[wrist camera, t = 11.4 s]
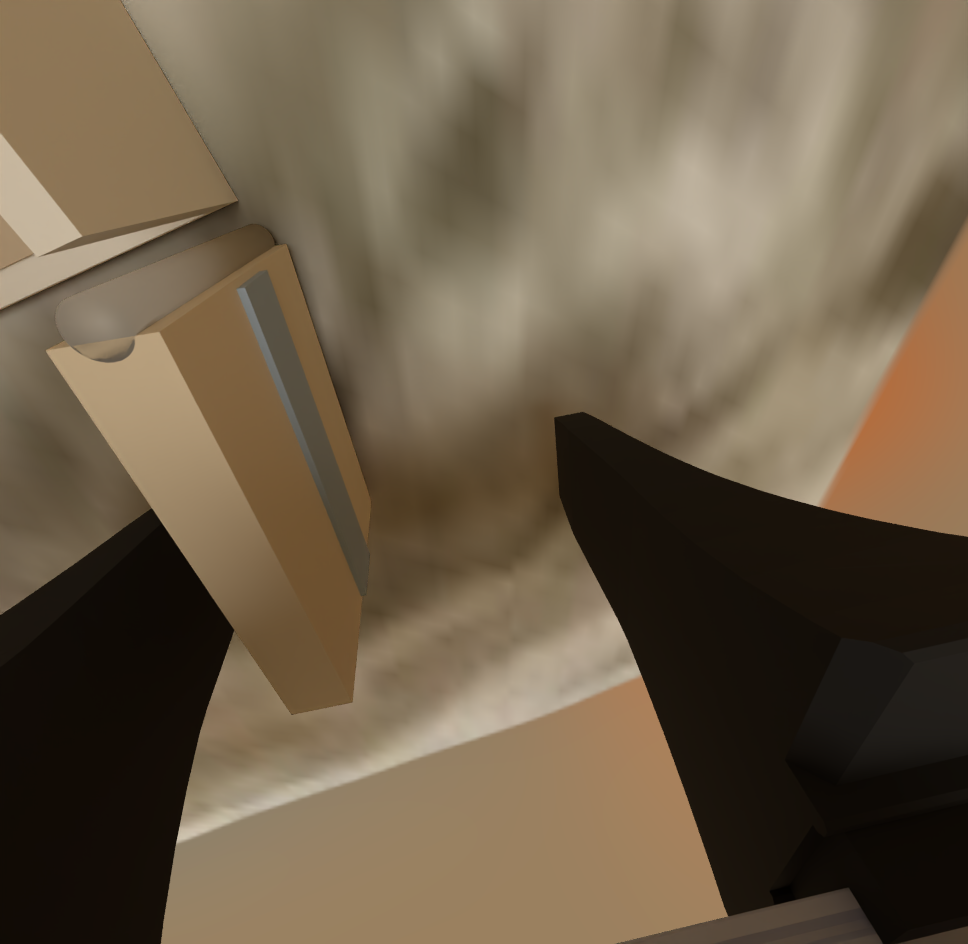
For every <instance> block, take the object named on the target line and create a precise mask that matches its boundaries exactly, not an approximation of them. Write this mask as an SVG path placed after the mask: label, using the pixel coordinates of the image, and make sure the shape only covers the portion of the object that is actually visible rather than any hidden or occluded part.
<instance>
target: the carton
mask: <svg viewBox="0 0 968 944" xmlns="http://www.w3.org/2000/svg"><path fill="white" fill-rule="evenodd" d="M236 201H238V199H237V198H236V196H235V194H234V193H233V191H232V189H231V187H230V186H229V184H228V182H227V181H226V179H225V177H224V176H223V174H222V172H221V171H220V169H219V167H218V165H217V164H216V162H215V160H214V159H213V157H212V155H211V154H210V152H209V150H208V148H207V147H206V145H205V143H204V142H203V140H202V138H201V137H200V135H199V133H198V132H197V130H196V128H195V126H194V125H193V123H192V121H191V120H190V118H189V116H188V115H187V113H186V111H185V109H184V108H183V106H182V104H181V103H180V101H179V99H178V98H177V96H176V94H175V93H174V91H173V89H172V87H171V86H170V84H169V82H168V81H167V79H166V77H165V76H164V74H163V72H162V70H161V69H160V67H159V65H158V64H157V62H156V60H155V59H154V57H153V55H152V54H151V52H150V50H149V48H148V47H147V45H146V43H145V42H144V40H143V38H142V37H141V35H140V33H139V31H138V30H137V28H136V26H135V25H134V23H133V21H132V20H131V18H130V16H129V15H128V13H127V11H126V9H125V8H124V6H123V4H122V3H121V1H120V0H0V310H2V309H4V308H6V307H8V306H10V305H13V304H15V303H17V302H19V301H21V300H23V299H26V298H28V297H30V296H32V295H34V294H36V293H39V292H41V291H43V290H45V289H47V288H49V287H52V286H54V285H56V284H58V283H60V282H62V281H65V280H67V279H69V278H71V277H73V276H76V275H78V274H80V273H82V272H84V271H86V270H89V269H91V268H93V267H95V266H97V265H99V264H102V263H104V262H106V261H108V260H110V259H112V258H115V257H117V256H119V255H121V254H123V253H125V252H128V251H130V250H132V249H134V248H136V247H138V246H141V245H143V244H145V243H147V242H149V241H151V240H154V239H156V238H158V237H160V236H162V235H164V234H167V233H169V232H171V231H173V230H175V229H177V228H180V227H182V226H184V225H186V224H188V223H190V222H193V221H195V220H197V219H199V218H201V217H204V216H206V215H208V214H210V213H212V212H214V211H217V210H219V209H221V208H223V207H225V206H227V205H230V204H232V203H234V202H236Z"/></svg>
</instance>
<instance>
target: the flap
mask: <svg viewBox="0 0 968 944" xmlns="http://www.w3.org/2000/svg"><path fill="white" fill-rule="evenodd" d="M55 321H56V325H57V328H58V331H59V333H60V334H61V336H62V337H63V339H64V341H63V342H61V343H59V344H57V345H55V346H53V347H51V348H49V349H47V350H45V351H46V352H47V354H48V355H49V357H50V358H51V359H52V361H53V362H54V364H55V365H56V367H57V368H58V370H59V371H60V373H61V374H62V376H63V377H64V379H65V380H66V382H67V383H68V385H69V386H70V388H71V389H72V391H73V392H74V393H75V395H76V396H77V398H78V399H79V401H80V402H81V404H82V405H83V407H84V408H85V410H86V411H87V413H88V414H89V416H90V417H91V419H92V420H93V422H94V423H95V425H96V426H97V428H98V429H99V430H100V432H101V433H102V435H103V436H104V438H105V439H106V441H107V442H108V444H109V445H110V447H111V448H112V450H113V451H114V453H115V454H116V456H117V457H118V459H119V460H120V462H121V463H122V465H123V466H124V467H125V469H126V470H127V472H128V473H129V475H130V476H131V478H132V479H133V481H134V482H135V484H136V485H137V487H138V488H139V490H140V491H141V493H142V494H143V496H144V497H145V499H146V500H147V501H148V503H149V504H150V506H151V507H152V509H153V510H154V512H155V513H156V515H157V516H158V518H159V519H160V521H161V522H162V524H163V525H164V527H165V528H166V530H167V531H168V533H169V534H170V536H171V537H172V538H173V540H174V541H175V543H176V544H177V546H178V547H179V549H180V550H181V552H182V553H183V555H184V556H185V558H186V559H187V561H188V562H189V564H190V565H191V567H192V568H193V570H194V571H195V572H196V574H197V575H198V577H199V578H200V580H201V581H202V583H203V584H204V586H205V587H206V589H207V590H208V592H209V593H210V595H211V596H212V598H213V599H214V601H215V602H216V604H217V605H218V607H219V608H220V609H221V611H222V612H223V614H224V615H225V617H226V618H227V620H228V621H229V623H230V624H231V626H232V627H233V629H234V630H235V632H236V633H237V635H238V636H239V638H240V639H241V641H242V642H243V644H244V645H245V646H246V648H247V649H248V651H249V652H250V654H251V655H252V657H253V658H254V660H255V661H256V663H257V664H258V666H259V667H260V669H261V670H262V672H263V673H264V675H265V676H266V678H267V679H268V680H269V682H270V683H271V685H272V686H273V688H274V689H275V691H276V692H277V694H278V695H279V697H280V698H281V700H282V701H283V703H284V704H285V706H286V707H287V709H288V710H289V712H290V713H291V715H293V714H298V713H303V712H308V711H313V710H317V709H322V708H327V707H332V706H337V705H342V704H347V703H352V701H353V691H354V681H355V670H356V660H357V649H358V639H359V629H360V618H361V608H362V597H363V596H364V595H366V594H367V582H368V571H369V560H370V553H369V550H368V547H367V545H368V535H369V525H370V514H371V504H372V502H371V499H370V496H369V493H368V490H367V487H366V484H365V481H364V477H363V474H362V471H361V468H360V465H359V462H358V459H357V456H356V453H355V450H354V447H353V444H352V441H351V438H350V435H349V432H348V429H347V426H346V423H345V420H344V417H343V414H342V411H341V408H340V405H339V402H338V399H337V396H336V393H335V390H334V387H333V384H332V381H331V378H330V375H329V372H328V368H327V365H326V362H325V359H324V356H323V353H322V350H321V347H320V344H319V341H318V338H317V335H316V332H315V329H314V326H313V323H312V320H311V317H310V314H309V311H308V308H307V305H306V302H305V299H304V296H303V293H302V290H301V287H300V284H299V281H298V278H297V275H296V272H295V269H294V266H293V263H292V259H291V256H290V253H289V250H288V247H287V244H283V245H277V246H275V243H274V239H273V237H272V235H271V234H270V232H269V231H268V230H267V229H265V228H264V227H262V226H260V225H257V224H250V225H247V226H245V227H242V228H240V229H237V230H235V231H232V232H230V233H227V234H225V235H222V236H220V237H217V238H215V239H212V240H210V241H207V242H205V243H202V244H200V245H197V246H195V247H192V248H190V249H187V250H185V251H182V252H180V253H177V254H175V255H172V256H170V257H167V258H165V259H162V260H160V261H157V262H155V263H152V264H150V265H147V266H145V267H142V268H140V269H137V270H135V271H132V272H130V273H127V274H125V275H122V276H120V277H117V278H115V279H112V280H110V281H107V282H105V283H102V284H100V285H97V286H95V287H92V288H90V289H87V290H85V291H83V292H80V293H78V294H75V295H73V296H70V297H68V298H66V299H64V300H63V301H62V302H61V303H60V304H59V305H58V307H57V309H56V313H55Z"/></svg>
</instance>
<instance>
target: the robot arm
mask: <svg viewBox="0 0 968 944" xmlns="http://www.w3.org/2000/svg"><path fill="white" fill-rule="evenodd" d="M554 421H555V436H556V451H557V465H558V480H559V495H560V498H561V501H562V504H563V507H564V510H565V512H566V515H567V518H568V521H569V523H570V526H571V529H572V531H573V534H574V536H575V538H576V540H577V542H578V544H579V546H580V548H581V550H582V552H583V554H584V556H585V557H586V559H587V561H588V563H589V565H590V567H591V569H592V571H593V573H594V575H595V577H596V578H597V580H598V582H599V584H600V586H601V588H602V590H603V592H604V594H605V596H606V598H607V599H608V601H609V603H610V605H611V607H612V609H613V611H614V613H615V615H616V617H617V619H618V621H619V623H620V625H621V627H622V629H623V631H624V633H625V636H626V638H627V640H628V642H629V645H630V647H631V650H632V652H633V655H634V658H635V660H636V663H637V665H638V668H639V670H640V673H641V675H642V678H643V680H644V683H645V685H646V688H647V690H648V693H649V695H650V698H651V701H652V703H653V706H654V709H655V711H656V714H657V716H658V719H659V722H660V724H661V727H662V730H663V732H664V735H665V738H666V740H667V743H668V746H669V748H670V751H671V754H672V757H673V759H674V762H675V765H676V768H677V771H678V773H679V776H680V779H681V781H682V784H683V787H684V790H685V793H686V795H687V798H688V801H689V804H690V807H691V809H692V813H693V816H694V819H695V821H696V824H697V827H698V830H699V833H700V836H701V839H702V842H703V844H704V847H705V850H706V853H707V856H708V859H709V862H710V865H711V868H712V871H713V874H714V877H715V880H716V883H717V886H718V889H719V892H720V895H721V898H722V901H723V904H724V907H725V909H726V912H727V914H728V917H724V918H720V919H716V920H712V921H708V922H704V923H699V924H695V925H691V926H687V927H683V928H679V929H675V930H671V931H667V932H662V933H659V934H654V935H650V936H646V937H642V938H637V939H633V940H629V941H625V942H621V943H617V944H968V537H965V536H959V535H952V534H945V533H939V532H934V531H928V530H923V529H918V528H913V527H908V526H902V525H897V524H892V523H887V522H882V521H877V520H872V519H867V518H863V517H858V516H854V515H849V514H845V513H840V512H836V511H832V510H828V509H825V508H821V507H817V506H813V505H809V504H806V503H802V502H798V501H794V500H791V499H787V498H783V497H780V496H777V495H773V494H770V493H767V492H763V491H760V490H757V489H754V488H751V487H748V486H746V485H743V484H740V483H737V482H734V481H731V480H728V479H725V478H722V477H720V476H717V475H714V474H712V473H709V472H707V471H704V470H702V469H699V468H697V467H695V466H692V465H690V464H688V463H685V462H683V461H681V460H678V459H676V458H674V457H672V456H669V455H667V454H665V453H663V452H661V451H659V450H657V449H655V448H653V447H651V446H649V445H647V444H645V443H643V442H641V441H639V440H637V439H635V438H633V437H631V436H629V435H627V434H625V433H623V432H621V431H620V430H618V429H616V428H614V427H612V426H610V425H608V424H606V423H605V422H603V421H601V420H599V419H597V418H595V417H593V416H591V415H589V414H587V413H584V412H580V413H575V414H570V415H565V416H560V417H555V418H554ZM233 632H234V629H233V627H232V626H231V624H230V623H229V621H228V620H227V618H226V617H225V615H224V614H223V612H222V611H221V609H220V608H219V607H218V605H217V604H216V602H215V601H214V599H213V598H212V596H211V595H210V593H209V592H208V590H207V589H206V587H205V586H204V584H203V583H202V581H201V580H200V578H199V577H198V575H197V574H196V572H195V571H194V570H193V568H192V567H191V565H190V564H189V562H188V561H187V559H186V558H185V556H184V555H183V553H182V552H181V550H180V549H179V547H178V546H177V544H176V543H175V541H174V540H173V538H172V537H171V536H170V534H169V533H168V531H167V530H166V528H165V527H164V525H163V524H162V522H161V521H160V519H159V518H158V516H157V515H156V513H155V512H154V510H153V509H150V510H149V511H147V512H146V513H144V514H143V515H142V516H140V517H139V518H137V519H136V520H135V521H133V522H132V523H130V524H129V525H128V526H126V527H125V528H123V529H122V530H121V531H119V532H118V533H116V534H115V535H114V536H112V537H111V538H110V539H108V540H107V541H106V542H104V543H103V544H101V545H100V546H99V547H97V548H96V549H95V550H93V551H92V552H90V553H89V554H88V555H86V556H85V557H84V558H82V559H81V560H79V561H78V562H77V563H75V564H74V565H73V566H71V567H70V568H68V569H67V570H65V571H64V572H62V573H61V574H60V575H58V576H57V577H55V578H54V579H52V580H51V581H50V582H48V583H47V584H45V585H44V586H42V587H41V588H39V589H38V590H37V591H35V592H34V593H32V594H31V595H29V596H28V597H26V598H25V599H24V600H22V601H21V602H19V603H18V604H16V605H15V606H13V607H12V608H11V609H9V610H8V611H6V612H4V613H3V614H1V615H0V944H161V937H162V929H163V921H164V915H165V909H166V902H167V896H168V890H169V883H170V876H171V870H172V865H173V858H174V851H175V846H176V841H177V836H178V831H179V826H180V821H181V816H182V811H183V806H184V801H185V796H186V790H187V786H188V781H189V777H190V773H191V768H192V764H193V760H194V755H195V751H196V747H197V743H198V738H199V734H200V730H201V727H202V724H203V720H204V717H205V714H206V710H207V707H208V704H209V701H210V699H211V696H212V693H213V690H214V687H215V684H216V681H217V678H218V676H219V673H220V670H221V667H222V664H223V661H224V658H225V655H226V653H227V650H228V647H229V644H230V641H231V638H232V635H233Z"/></svg>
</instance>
